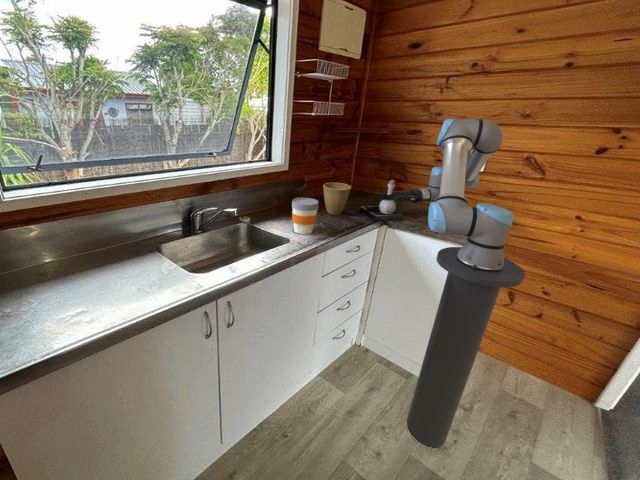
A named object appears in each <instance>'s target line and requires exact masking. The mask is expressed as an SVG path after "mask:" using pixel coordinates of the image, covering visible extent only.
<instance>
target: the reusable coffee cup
mask: <svg viewBox="0 0 640 480" xmlns="http://www.w3.org/2000/svg"><path fill="white" fill-rule="evenodd" d="M291 208H292V211H291V217H292V218H291V219H292V222H293V223H292V224H293V231H294V233H296V234H300V235H310V234H312V233H313V231H314V226H315V223H316V221H317V218H318V210H319V209H320V207H319V200H317V199H315V198H311V197H295V198H293V199H292V201H291ZM310 231H311V232H310Z"/></svg>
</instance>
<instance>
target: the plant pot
mask: <svg viewBox="0 0 640 480" xmlns="http://www.w3.org/2000/svg"><path fill="white" fill-rule="evenodd" d="M322 189H323V198H324V205H325V209H326V212H327V214H329V215H334V216H339V215H341V214H342V212H343V210H344V208H345V206H346V204H347V201H348V199H349V196H350V192H351V189H352V186H351V185H349V184H346V183H342V182H326V183H324V184H323V187H322Z"/></svg>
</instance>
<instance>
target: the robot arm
mask: <svg viewBox="0 0 640 480" xmlns="http://www.w3.org/2000/svg"><path fill="white" fill-rule="evenodd" d="M503 138H504V136H503V132H502V129H501V127H500V126H499V125H498V124H497V123H496V122H494V121H492V120H489V119H484V118H483V119H480V118H479V119H475V118H447V119H445V120H444V121H443V123H442V126H441V129H440V131H439V134H438V138H437V140H436V146H438V147H440V151H441V153H443V156H442V164H441V165H442V166H433V168H432V169H431V173H430V176H429V181H428V186H427V188H412V189H411V188H410V190H409V191H402V190H397V191H392V195H387V194H388V192H387V193H385V192H383V193H378V195H377V199H378V200H379V199H380V201H382V200H394V201H395V202H410V203H421V204H422V203H430V204H429V206H428V213H427V224H428V228H429V229H430V230H431V231H432V232H435V233H441V234H447V235H455V236H461V237H467V239H466V241H465V243H464V244H463V245H462V246H461V247H462V248H461V249H457V251H459V252H458V253H457V257H456V258H457V260H458V261H459V262H460V263H462V264H464V265H466V266H468V267H470V268H472V269H473V270H475V269H477V270H481V271H486V272H499V271H501V270H502V269H503V266H504V258H505V257H504V247H505V244H506V241H507V239H508V236H509V233H510V231H511V228H512V226H513V221H514V213H512V211H510V210H509V209H506V208H504V207H502V206H498V205H495V204H491V203H485V202H483V203H482V202H480V203H477V204H476V206H469V200H468V199H467V198H465V188H467V189H468V188H469V189H471V188H472V189H473V188H476V187H477V186H478V183H479V180H480V176H479V173H480V172H481V170H482V169H483V167H484V166H485V165H486V163H487V161H488V160H489V159H490V157H491V156H492V154H495V153H496V152H497V151H498V150H499V149H500V147H501V146H502V143H503ZM472 148H473V149H472ZM470 151H471V152H470ZM468 152H470V154H469V156H468Z"/></svg>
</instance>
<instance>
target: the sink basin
mask: <svg viewBox="0 0 640 480" xmlns="http://www.w3.org/2000/svg"><path fill="white" fill-rule="evenodd" d="M359 212H360V213H362V214H364V215H365V216H366V217H368V218H369V219H370V220H373V221H374V222H381V221H382V222H383V221H401V220H402V219H403V214H402V213H399V214H397V213H396V214H379V215H378V214H375V213H373V212H380V209H379V205H364V206H360V211H359ZM372 217H373V218H372ZM374 218H375V219H374Z"/></svg>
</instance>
